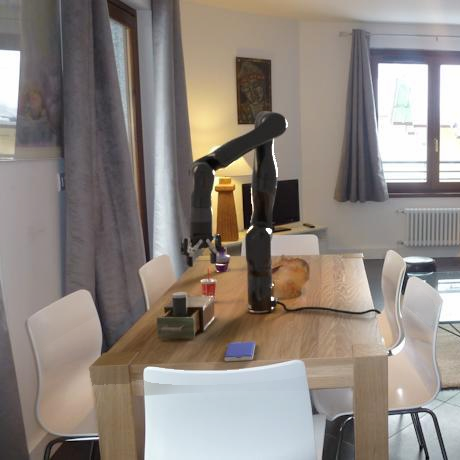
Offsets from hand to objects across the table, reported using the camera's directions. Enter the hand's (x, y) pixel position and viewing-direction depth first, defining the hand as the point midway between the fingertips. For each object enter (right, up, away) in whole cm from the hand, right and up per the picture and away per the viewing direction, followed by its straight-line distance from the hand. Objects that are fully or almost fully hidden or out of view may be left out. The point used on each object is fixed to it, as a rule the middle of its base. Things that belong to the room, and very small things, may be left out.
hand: (201, 265), depth 221 cm
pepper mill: (-3, -21, -11) cm, 24 cm away
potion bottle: (-19, -7, +82) cm, 85 cm away
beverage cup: (-7, -17, +29) cm, 34 cm away
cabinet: (-4, -21, 0) cm, 22 cm away
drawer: (-3, -22, -12) cm, 25 cm away
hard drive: (+21, -26, -26) cm, 42 cm away
